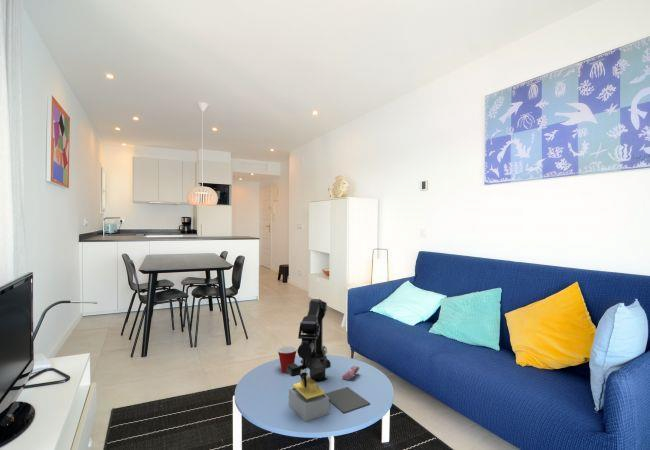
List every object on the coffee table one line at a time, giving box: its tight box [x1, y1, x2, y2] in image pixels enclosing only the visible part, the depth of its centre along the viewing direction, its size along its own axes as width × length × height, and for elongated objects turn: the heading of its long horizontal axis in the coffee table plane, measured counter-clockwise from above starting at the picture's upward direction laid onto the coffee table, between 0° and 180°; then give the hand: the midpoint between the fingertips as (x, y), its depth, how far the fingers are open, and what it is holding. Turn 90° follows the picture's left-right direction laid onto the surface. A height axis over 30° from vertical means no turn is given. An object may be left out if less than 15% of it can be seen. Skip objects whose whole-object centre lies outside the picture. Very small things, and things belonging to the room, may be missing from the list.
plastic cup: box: [276, 345, 298, 374], centre depth 179 cm, size 11×11×12 cm
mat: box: [325, 386, 371, 414], centre depth 150 cm, size 14×17×1 cm
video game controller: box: [342, 364, 360, 381], centre depth 173 cm, size 10×5×7 cm, turn 148°
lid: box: [292, 375, 325, 399], centre depth 142 cm, size 8×12×4 cm
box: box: [288, 386, 330, 423], centre depth 142 cm, size 11×15×7 cm
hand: (308, 386), depth 142 cm, fingers closed on lid, 3 cm apart
